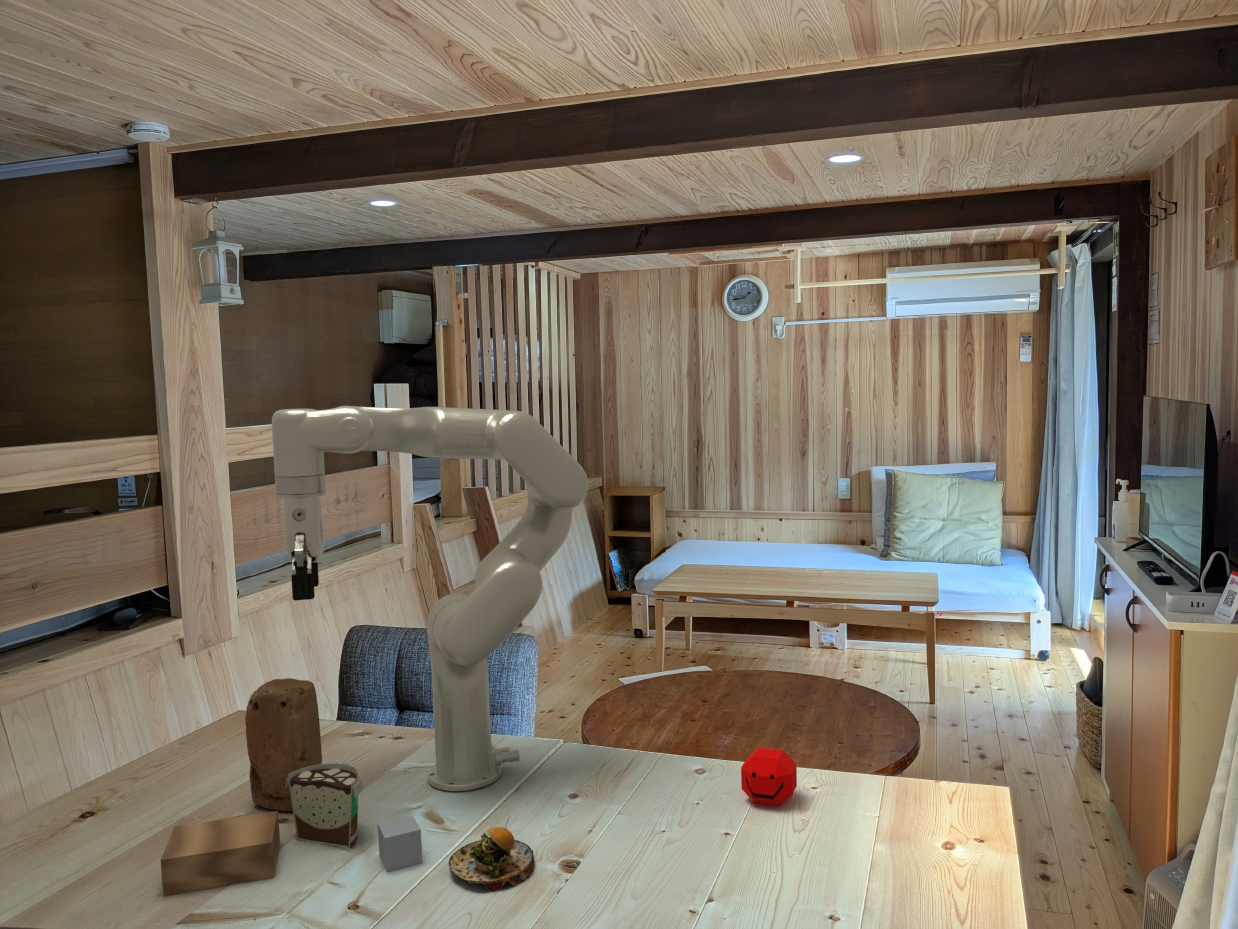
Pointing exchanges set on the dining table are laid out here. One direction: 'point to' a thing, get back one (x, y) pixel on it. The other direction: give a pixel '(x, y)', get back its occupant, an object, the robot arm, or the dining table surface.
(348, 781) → the food container
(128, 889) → the dining table surface
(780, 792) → the ball
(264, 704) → the brown lumpy post
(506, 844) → the burger
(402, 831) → the slate cube
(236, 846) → the plinth
